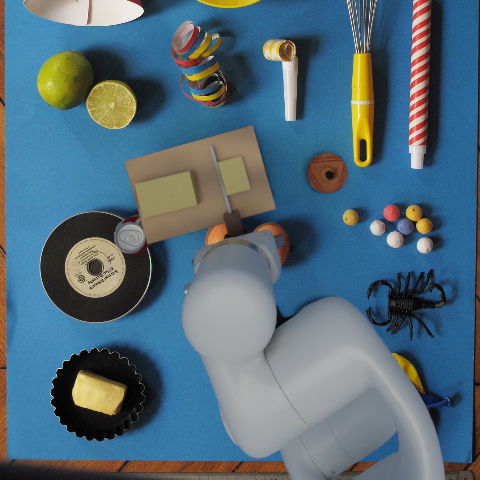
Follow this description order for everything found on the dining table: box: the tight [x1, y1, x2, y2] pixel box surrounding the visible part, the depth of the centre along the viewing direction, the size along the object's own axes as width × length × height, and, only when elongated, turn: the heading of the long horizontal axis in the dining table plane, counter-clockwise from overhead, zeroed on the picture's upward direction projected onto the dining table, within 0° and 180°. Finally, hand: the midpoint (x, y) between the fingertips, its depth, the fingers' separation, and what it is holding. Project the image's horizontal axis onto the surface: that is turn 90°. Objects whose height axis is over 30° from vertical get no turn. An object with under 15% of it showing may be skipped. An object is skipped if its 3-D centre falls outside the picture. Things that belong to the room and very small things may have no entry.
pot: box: [306, 152, 349, 194], centre depth 82 cm, size 8×8×7 cm
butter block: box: [135, 170, 200, 218], centre depth 61 cm, size 5×8×4 cm, turn 103°
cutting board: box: [124, 124, 277, 245], centre depth 74 cm, size 13×20×23 cm, turn 106°
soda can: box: [113, 212, 153, 256], centre depth 80 cm, size 7×7×12 cm
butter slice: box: [218, 156, 251, 196], centre depth 61 cm, size 5×2×4 cm
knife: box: [210, 146, 245, 238], centre depth 61 cm, size 19×2×3 cm, turn 16°
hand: (239, 241), depth 62 cm, fingers closed on knife, 2 cm apart
